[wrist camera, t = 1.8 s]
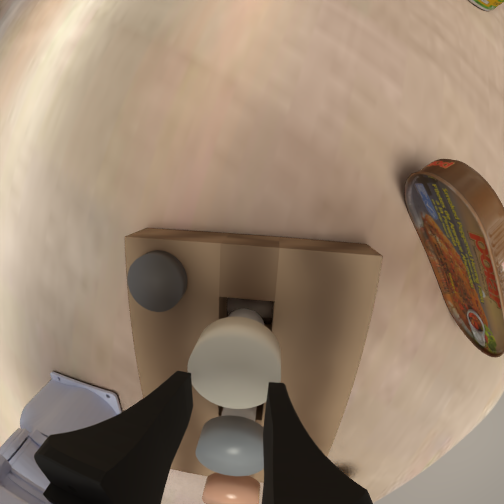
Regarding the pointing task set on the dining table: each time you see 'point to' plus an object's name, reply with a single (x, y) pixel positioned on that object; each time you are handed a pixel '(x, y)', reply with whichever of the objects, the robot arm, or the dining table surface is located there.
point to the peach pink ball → (231, 490)
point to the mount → (283, 324)
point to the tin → (463, 246)
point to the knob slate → (232, 443)
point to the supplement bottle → (487, 4)
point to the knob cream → (236, 361)
